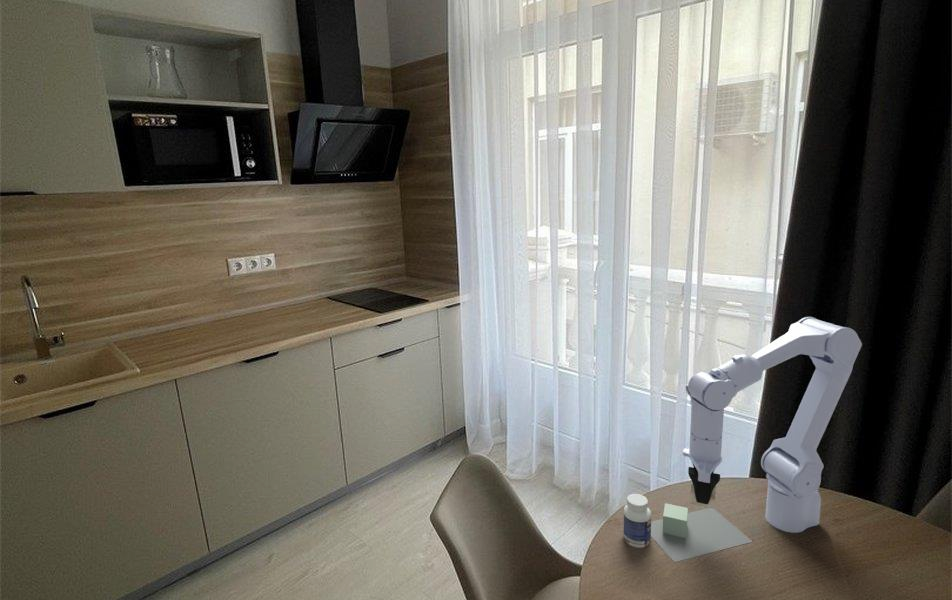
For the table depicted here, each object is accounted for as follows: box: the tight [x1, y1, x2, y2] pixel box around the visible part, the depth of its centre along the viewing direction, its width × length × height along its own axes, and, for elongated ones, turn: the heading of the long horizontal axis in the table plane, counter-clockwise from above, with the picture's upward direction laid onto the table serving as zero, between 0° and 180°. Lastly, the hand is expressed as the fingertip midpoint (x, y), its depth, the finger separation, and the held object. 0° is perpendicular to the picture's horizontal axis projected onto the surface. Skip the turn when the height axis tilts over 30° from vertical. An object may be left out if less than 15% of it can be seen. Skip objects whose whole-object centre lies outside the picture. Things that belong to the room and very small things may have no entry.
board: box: [651, 507, 754, 563], centre depth 100 cm, size 18×12×1 cm, turn 104°
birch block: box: [689, 479, 717, 510], centre depth 98 cm, size 4×4×4 cm
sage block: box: [662, 503, 689, 538], centre depth 101 cm, size 4×4×4 cm
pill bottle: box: [622, 493, 652, 548], centre depth 99 cm, size 5×5×10 cm
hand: (702, 495), depth 98 cm, fingers closed on birch block, 4 cm apart
